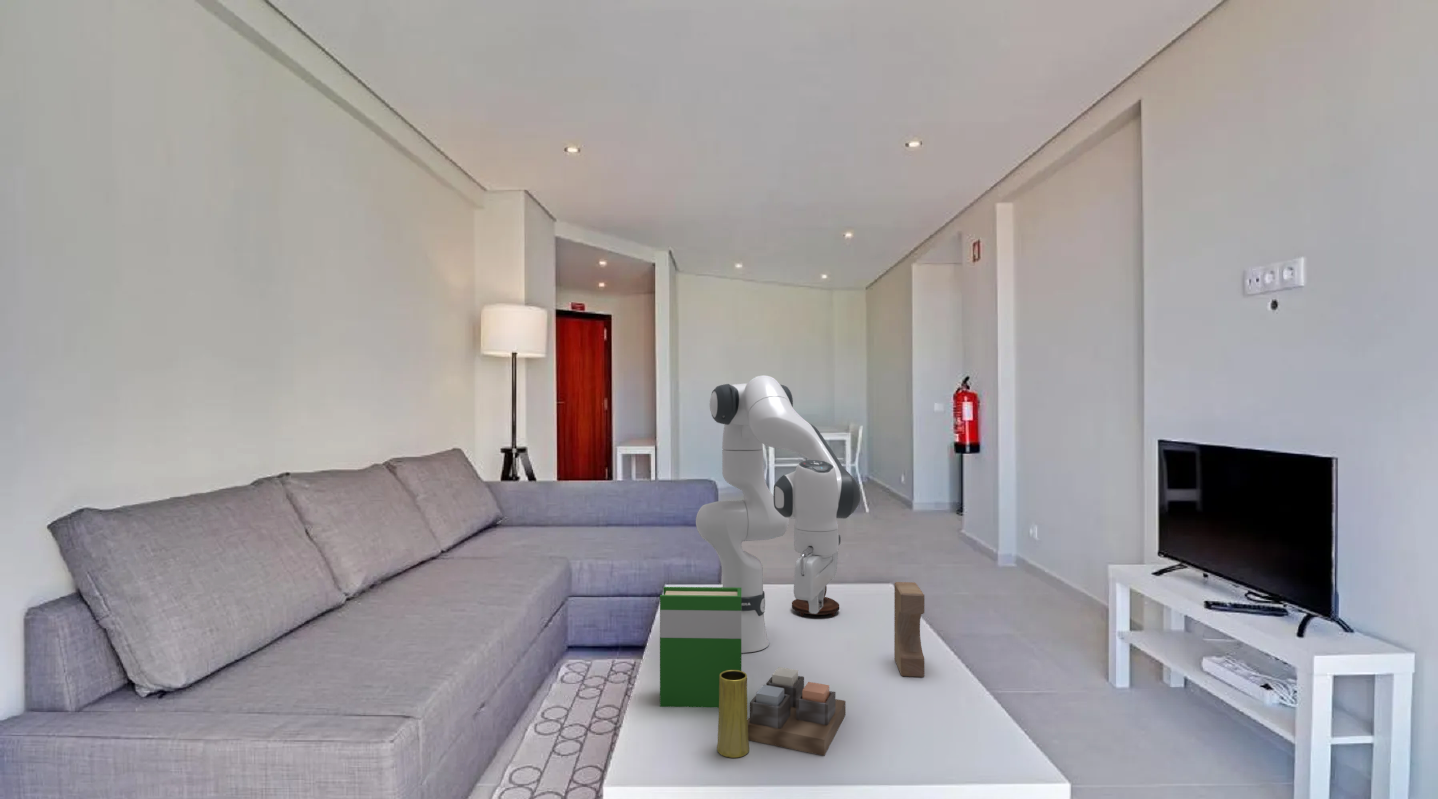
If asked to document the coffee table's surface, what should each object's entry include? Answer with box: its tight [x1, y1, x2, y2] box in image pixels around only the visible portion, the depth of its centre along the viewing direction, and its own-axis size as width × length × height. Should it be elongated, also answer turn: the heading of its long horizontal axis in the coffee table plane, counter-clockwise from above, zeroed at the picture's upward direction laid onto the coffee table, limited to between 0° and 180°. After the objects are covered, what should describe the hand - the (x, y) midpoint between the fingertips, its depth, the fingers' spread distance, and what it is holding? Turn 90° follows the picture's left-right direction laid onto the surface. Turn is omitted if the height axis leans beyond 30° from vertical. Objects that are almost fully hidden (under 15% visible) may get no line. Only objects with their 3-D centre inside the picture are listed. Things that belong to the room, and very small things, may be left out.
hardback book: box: [659, 586, 742, 709], centre depth 152 cm, size 18×7×24 cm, turn 88°
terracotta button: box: [802, 681, 830, 703], centre depth 138 cm, size 4×4×3 cm
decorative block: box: [893, 581, 925, 678], centre depth 170 cm, size 11×6×20 cm, turn 173°
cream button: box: [771, 666, 799, 687], centre depth 146 cm, size 4×4×3 cm
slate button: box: [755, 684, 784, 706], centre depth 137 cm, size 4×4×3 cm
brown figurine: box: [791, 585, 840, 618], centre depth 215 cm, size 15×15×20 cm
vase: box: [716, 670, 750, 759], centre depth 131 cm, size 6×6×14 cm
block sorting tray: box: [747, 675, 847, 757], centre depth 140 cm, size 16×18×7 cm
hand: (816, 610), depth 138 cm, fingers closed
